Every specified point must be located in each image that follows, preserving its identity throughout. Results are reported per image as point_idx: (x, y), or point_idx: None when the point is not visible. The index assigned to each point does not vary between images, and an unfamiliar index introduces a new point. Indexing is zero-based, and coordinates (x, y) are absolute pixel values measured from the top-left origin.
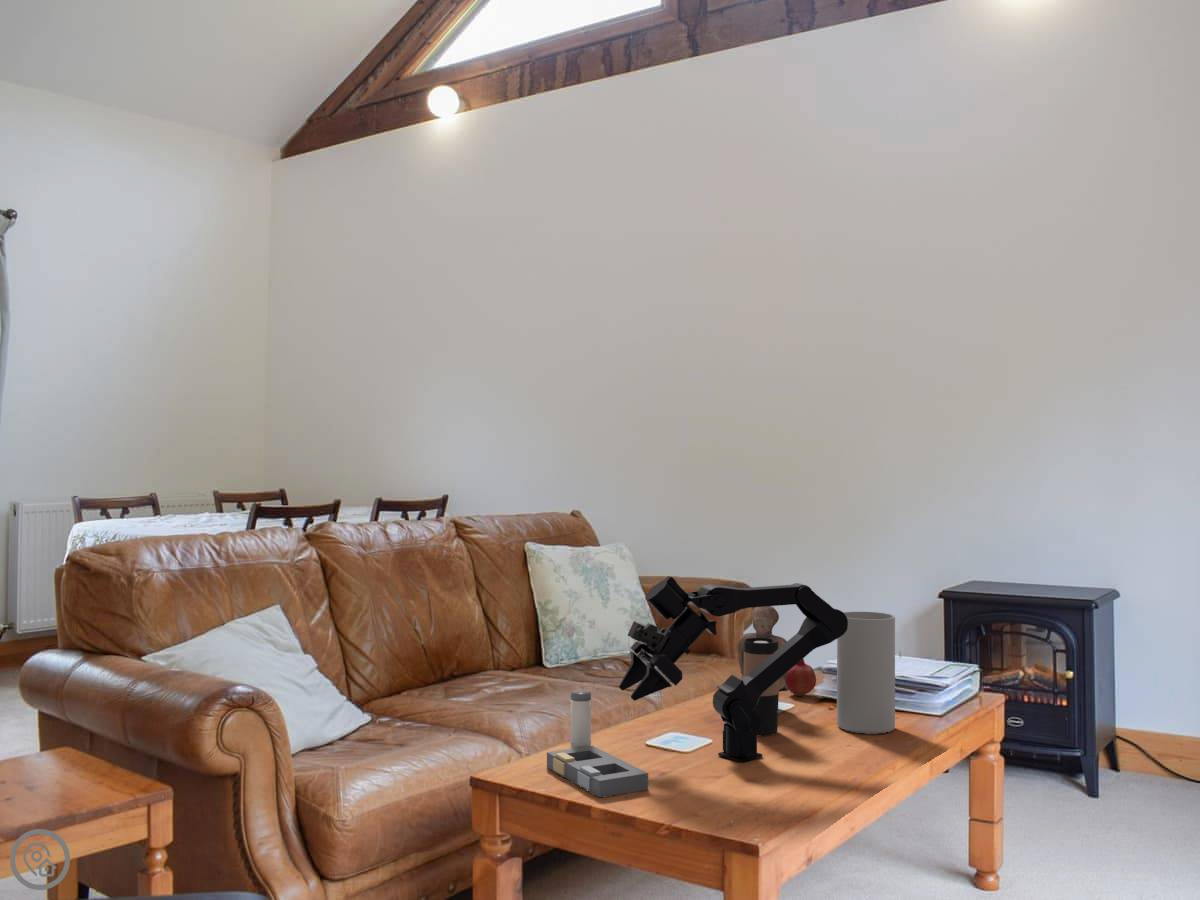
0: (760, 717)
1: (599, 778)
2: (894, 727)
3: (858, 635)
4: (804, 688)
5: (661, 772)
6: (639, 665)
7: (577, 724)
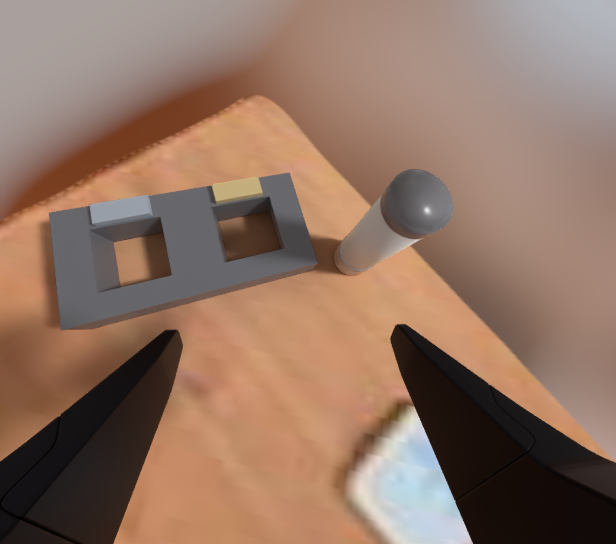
0: None
1: (66, 217)
2: None
3: None
4: None
5: (205, 387)
6: (540, 524)
7: (357, 224)
